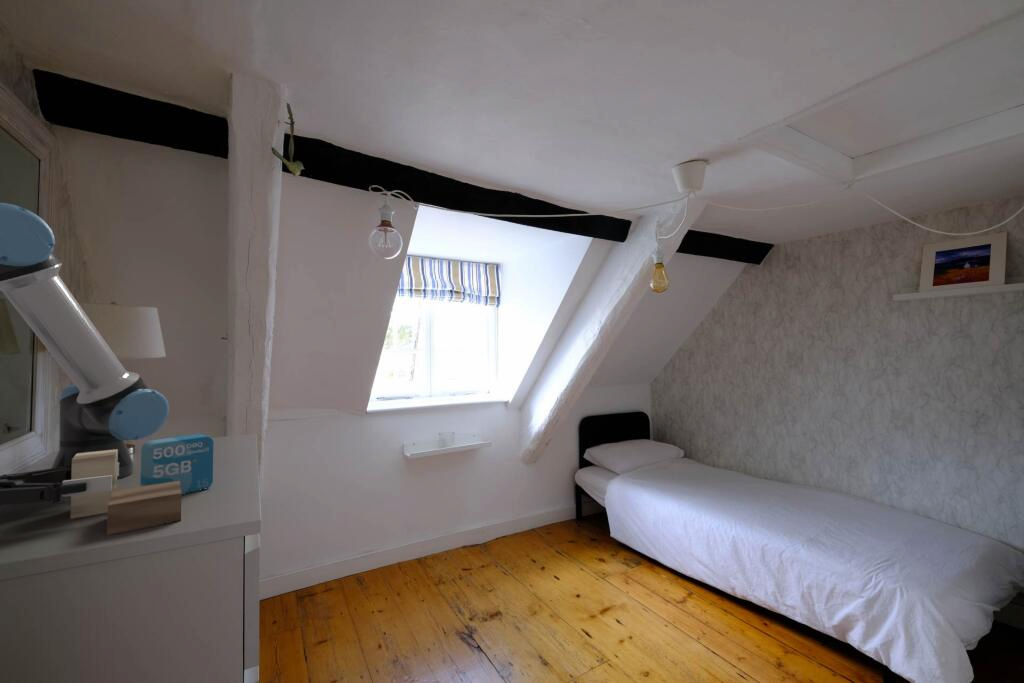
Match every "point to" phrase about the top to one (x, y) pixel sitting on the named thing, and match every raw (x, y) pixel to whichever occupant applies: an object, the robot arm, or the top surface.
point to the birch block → (93, 467)
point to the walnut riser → (144, 507)
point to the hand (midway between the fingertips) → (115, 475)
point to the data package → (178, 462)
